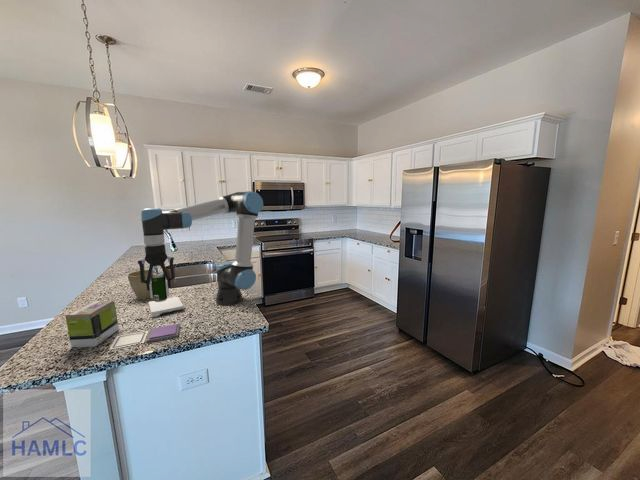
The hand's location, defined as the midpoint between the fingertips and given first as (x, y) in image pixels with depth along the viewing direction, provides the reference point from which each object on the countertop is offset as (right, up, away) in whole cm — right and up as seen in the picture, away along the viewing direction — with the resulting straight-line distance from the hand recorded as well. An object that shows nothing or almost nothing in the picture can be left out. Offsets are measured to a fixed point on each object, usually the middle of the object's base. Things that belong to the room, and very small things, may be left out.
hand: (160, 296), depth 119 cm
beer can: (0, -2, 0) cm, 2 cm away
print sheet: (-12, -19, -2) cm, 22 cm away
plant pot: (-39, -11, +49) cm, 64 cm away
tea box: (-28, -19, -1) cm, 33 cm away
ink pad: (0, -18, +3) cm, 18 cm away
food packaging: (-15, -14, +32) cm, 38 cm away
